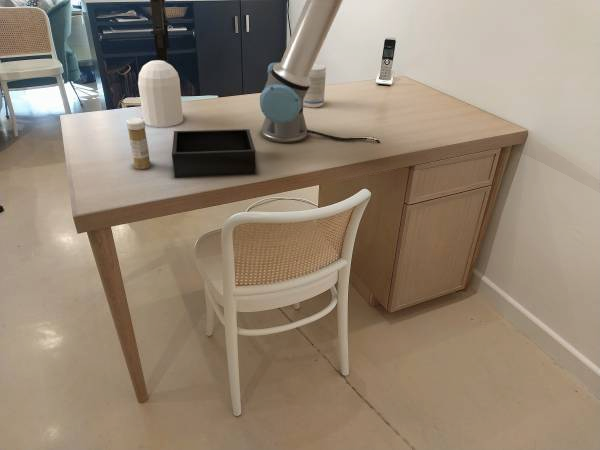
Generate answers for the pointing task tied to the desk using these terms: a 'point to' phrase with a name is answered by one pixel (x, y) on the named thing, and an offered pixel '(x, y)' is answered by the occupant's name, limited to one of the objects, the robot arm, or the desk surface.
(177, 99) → the container
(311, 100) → the supplement tub
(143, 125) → the sprinkles bottle
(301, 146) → the desk surface
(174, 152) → the black open box
